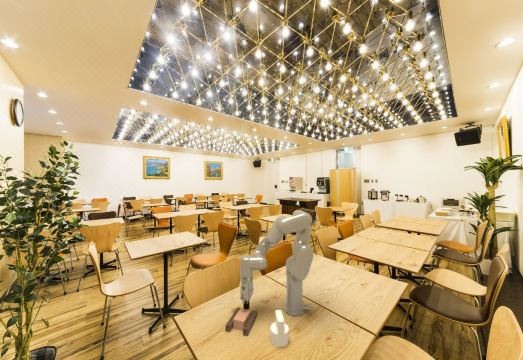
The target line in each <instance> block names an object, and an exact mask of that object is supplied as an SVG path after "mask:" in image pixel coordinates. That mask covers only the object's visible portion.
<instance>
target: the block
mask: <svg viewBox="0 0 523 360" xmlns="http://www.w3.org/2000/svg"><path fill="white" fill-rule="evenodd" d="M240 308H241V309H240V310H239V311H238V313H237V314H236V316H235V317H234V319H233V328H232V329H236V330H239V331H243V328H244V326H245V324H246V323H247V321H248V319H249V317H250V315H251V313H252V310H251V309H249V310H247V309H243V308H242V307H240Z"/></svg>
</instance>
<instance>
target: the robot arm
mask: <svg viewBox="0 0 523 360" xmlns="http://www.w3.org/2000/svg"><path fill="white" fill-rule="evenodd" d="M312 223H313V218H312V216H311V214H310V213H308V212H305V211H304V210H301V209H296V210H294V211H293V212H292V217H291V216H290V217H287V216H284V215H280V216H278V217H277V218H276V219H275V220H274V222H273V224H272V225H271V228H269V231H268V232H267V234H266V235H265V236H264V238H262V239H261V241H260V242H259V243H258V244H257V246H256V247H255V249H254V251H253V253H252V255H250V254H243V255H241V256H240V257H239V280H240V291H239V297H240V300H241V304H243V306H242V307H243V309H247V310H250V300H251V298H252V296H253V295H254V271H263V270H265V269H266V268H267V266H268V261H267V259H266V255H267V254H268V252H269V250H270V249H271V248H273V247H276V246H278V245H279V244H280V242H281V240H282V239H283V237H284V236H285V235H286V234H292V233H295V232H296V233H295V238H294V240H293V244H292V246H291V247H292V248H291V250H292V252H293V254H294V255H290V256H289V257H288V258H287V259H286V261H285V272H286V275H285V276H286V303H285V304H284V305H283V310H284V312H285V313H286V314H288V315H290V316H294V317H295V316H296V317H299V316H302V315H304V314H305V313H306V311H311V306H309V304H307V303H304V300H303V291H304V290H303V285H304V284H303V281H304V280H306V278H308V275H309V272H310V269H311V266H312V262H313V260H314V250H313V247H312V246H311V245H309V244H310V239H311V235H312Z"/></svg>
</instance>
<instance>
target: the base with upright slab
mask: <svg viewBox="0 0 523 360" xmlns="http://www.w3.org/2000/svg"><path fill="white" fill-rule="evenodd" d="M274 314H275V315H274V319H275V320H274V321H273V323H272V324H271V325H270V331H269V332H270V333H269V335H270V337H269V338H270V343H271V344H272V345H273V346H274V347H276V348H284V347H286V346H287V345H288V344H289V342H290V339H289V338H290V335H289V334H290V329H289V325H287V323H285V318H284V316H283V313H282V310H281V309H276V310H275V312H274Z"/></svg>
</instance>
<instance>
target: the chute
mask: <svg viewBox="0 0 523 360" xmlns="http://www.w3.org/2000/svg"><path fill="white" fill-rule="evenodd" d="M241 308H242V307H238V306H237V307H236V309H235V310H234V312H233V314H232V315H231V317H230V318H229V320H228V321H227V322H226V324H225V332H228V333H231V331H232V329H234V328H233V319H234V317H235V316H236V314H237V313H238V311H239V310H240V309H241ZM257 317H258V310H255V309H253V310H251V315H250V317H249V319H248V321H247V323H246V324H245V326H244V328H243V330H242V336H246V337H248V336H249V334H250V333H251V330H252V328H253V325H255V322H256V319H257Z"/></svg>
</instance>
